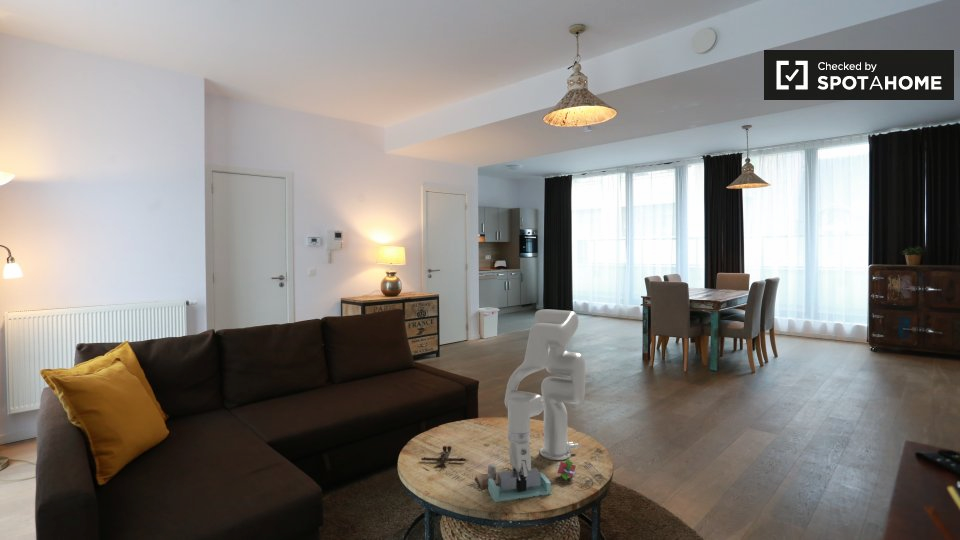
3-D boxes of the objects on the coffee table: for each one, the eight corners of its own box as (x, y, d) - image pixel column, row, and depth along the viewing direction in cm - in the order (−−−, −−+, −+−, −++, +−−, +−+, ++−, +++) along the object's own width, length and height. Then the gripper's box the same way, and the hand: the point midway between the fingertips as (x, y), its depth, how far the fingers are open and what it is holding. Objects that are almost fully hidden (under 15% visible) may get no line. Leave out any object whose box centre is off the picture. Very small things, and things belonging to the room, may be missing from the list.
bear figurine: (468, 445, 196) (465, 457, 181) (468, 456, 195) (465, 468, 181) (425, 444, 197) (418, 456, 182) (425, 455, 197) (418, 467, 182)
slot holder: (542, 483, 169) (542, 472, 169) (550, 494, 161) (550, 482, 161) (488, 490, 164) (488, 478, 164) (494, 502, 156) (494, 490, 156)
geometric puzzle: (574, 465, 177) (562, 451, 176) (584, 473, 171) (572, 458, 169) (560, 479, 176) (549, 465, 174) (570, 488, 169) (558, 473, 167)
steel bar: (536, 479, 166) (536, 467, 166) (540, 485, 162) (540, 473, 162) (497, 483, 163) (497, 472, 163) (501, 490, 159) (501, 478, 158)
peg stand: (527, 471, 178) (527, 456, 178) (535, 481, 170) (535, 466, 170) (476, 477, 173) (476, 462, 173) (481, 488, 166) (481, 472, 165)
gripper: (538, 443, 154) (538, 498, 155) (521, 425, 171) (521, 474, 172) (516, 445, 153) (516, 501, 153) (501, 427, 169) (502, 477, 170)
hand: (519, 486), depth 162 cm, fingers closed on steel bar, 4 cm apart
